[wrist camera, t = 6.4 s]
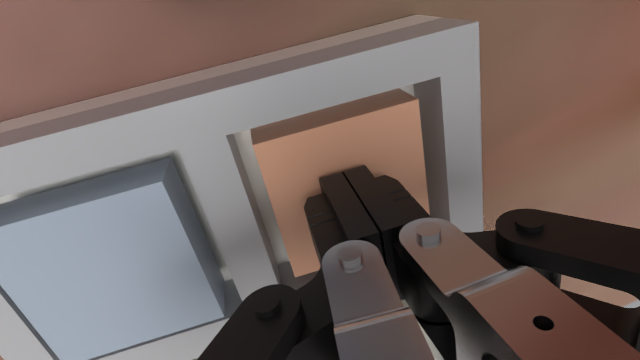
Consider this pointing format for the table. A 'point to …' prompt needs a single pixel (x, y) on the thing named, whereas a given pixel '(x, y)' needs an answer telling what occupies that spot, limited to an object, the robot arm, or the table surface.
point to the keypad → (251, 150)
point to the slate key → (110, 261)
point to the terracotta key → (337, 159)
